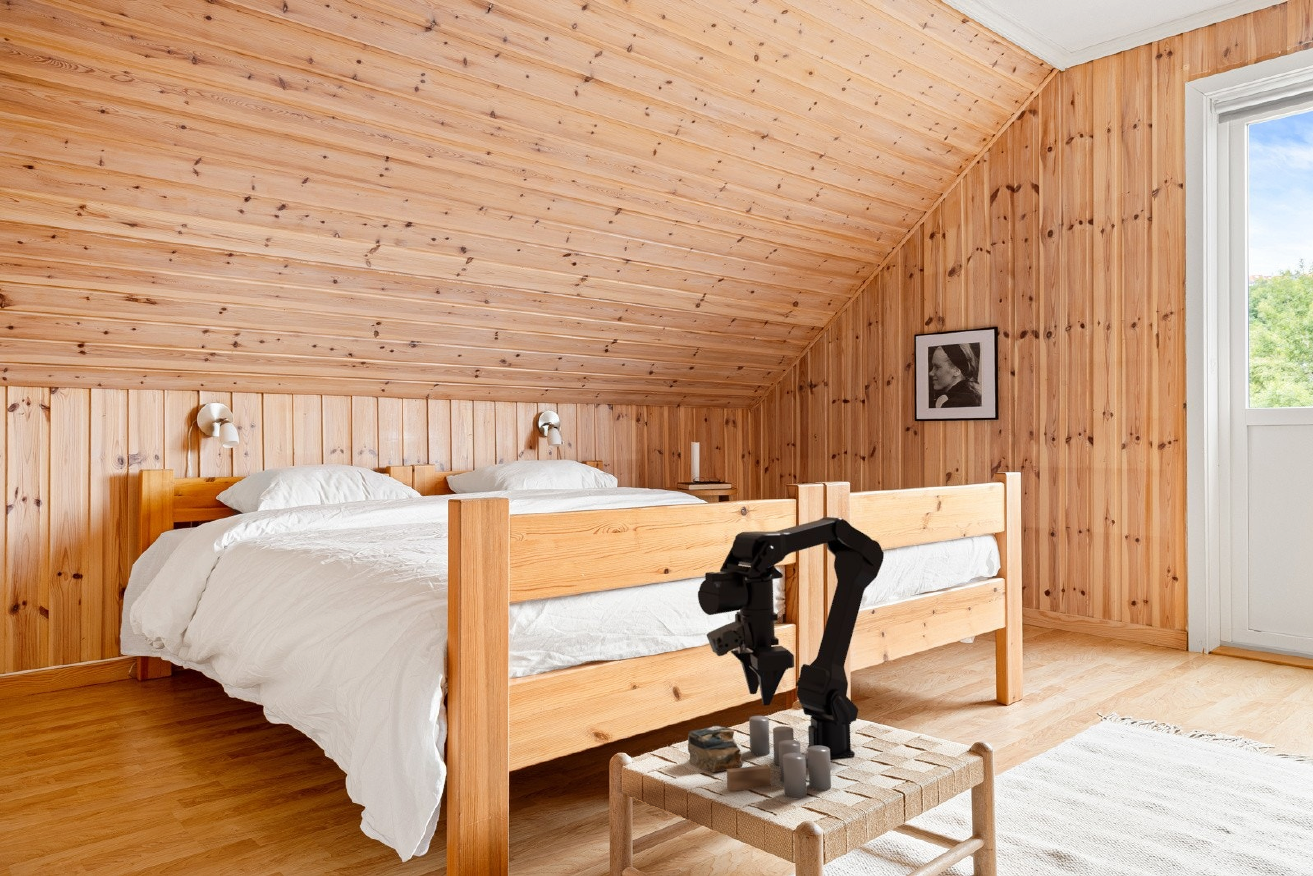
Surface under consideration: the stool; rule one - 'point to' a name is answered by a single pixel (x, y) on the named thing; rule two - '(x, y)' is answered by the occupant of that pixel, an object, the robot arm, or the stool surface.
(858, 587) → the robot arm
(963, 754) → the stool surface
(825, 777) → the spacers
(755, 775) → the bar
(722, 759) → the rock
